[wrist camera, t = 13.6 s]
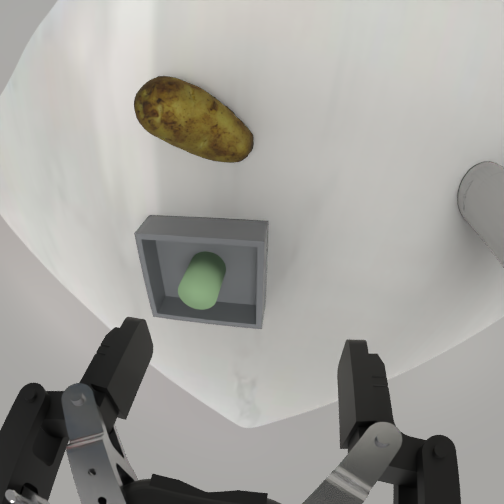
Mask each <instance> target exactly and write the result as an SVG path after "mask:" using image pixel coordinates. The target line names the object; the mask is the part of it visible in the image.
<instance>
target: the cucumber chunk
mask: <svg viewBox="0 0 504 504" xmlns="http://www.w3.org/2000/svg"><path fill="white" fill-rule="evenodd" d="M225 272H226V265H225V263H224V261H223V260H222V258H221V257H219V256H218V255H217V254H215V253H212V252H207V251H204V252H199V253H197V254H196V255H194V256H193V258H192V260H191V262H190V264H189V266H188V268H187V270H186V272H185V274H184V276H183V278H182V280H181V282H180V284H179V287H178V295H179V297H180V299H181V300H182V301H183V302H184V303H185V304H186V305H188V306H189V307H191V308H194V309H199V310H204V309H209V308H211V307H212V306H214V304H215V303H216V301H217V297H218V294H219V291H220V288H221V285H222V282H223V279H224V276H225Z"/></svg>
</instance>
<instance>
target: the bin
mask: <svg viewBox="0 0 504 504" xmlns="http://www.w3.org/2000/svg"><path fill="white" fill-rule="evenodd" d="M134 234H135V239H136V244H137V249H138V253H139V258H140V263H141V268H142V272H143V276H144V281H145V285H146V289H147V294H148V298H149V302H150V306H151V310H152V314H153V317H160V318H167V319H174V320H182V321H190V322H198V323H206V324H215V325H224V326H234V327H244V328H255V329H262V324H263V317H264V310H265V297H266V271H267V243H268V221H255V220H238V219H220V218H200V217H179V216H155V215H150V216H149V217H148V218H147V219H146V220H145V221H144V223H143V224H142V225H141V226H140V227H139V229H138V230H137V231H136V232H135V233H134ZM204 251H207V252H212V253H215V254H217V255H218V256H219V257H221V258H222V260H223V261H224V263H225V265H226V272H225V276H224V279H223V282H222V285H221V288H220V291H219V294H218V297H217V301H216V303H215V304H214V306H212V307H211V308H209V309H204V310H199V309H194V308H191V307H189V306H188V305H186V304H185V303H184V302H183V301H182V300H181V299H180V297H179V295H178V287H179V284H180V282H181V280H182V278H183V276H184V274H185V272H186V270H187V268H188V266H189V264H190V262H191V260H192V258H193V256H194V255H196V254H197V253H199V252H204Z"/></svg>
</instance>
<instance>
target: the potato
mask: <svg viewBox="0 0 504 504" xmlns="http://www.w3.org/2000/svg"><path fill="white" fill-rule="evenodd" d="M134 109H135V113H136V117H137V119H138V121H139V123H140V124H141V125H142V126H143V127H144V129H146V130H147V131H148V132H149V133H150V134H152V135H154V136H156V137H158V138H160V139H162V140H164V141H165V142H167V143H169V144H171V145H173V146H176V147H178V148H181V149H183V150H185V151H187V152H189V153H191V154H194V155H197V156H200V157H202V158H206V159H209V160H213V161H219V162H239V161H242V160H243V159H245V158H246V157H247V156H248V154H249V153H250V152H251V151H252V149H253V134H252V133H251V132H250V130H249V129H248V128H247V127H246V126H245V124H244V123H243V122H242V121H241V120H240V119H238V118H237V117H236V116H235V115H234V113H233V112H232V111H231V110H230V109H229V108H228V107H227V106H224V105H223V104H222V103H221V102H220V101H218V100H217V99H216V98H215V97H213V96H212V95H210V94H209V93H207V92H206V91H205V90H203V89H201V88H200V87H197V86H195V85H192V84H190V83H187V82H185V81H182V80H180V79H177V78H173V77H167V76H158V77H157V78H154V79H152V80H150V81H148V82H147V83H146V84H144V85H143V86H142V87H141V89H140V90H139V91H138V92H137V94H136V97H135V100H134Z"/></svg>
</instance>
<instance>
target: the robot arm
mask: <svg viewBox="0 0 504 504" xmlns="http://www.w3.org/2000/svg"><path fill="white" fill-rule="evenodd" d="M458 205H459V210H460V212H461V214H462V216H463V217H464V218H465V220H466V221H467V222H468V223H469V224H470V225H471V227H472V228H473V229H474V230H475V231H476V233H477V234H478V235H479V236H480V238H481V239H482V240H483V241H484V242H485V244H486V245H487V246H488V247H489V249H490V250H491V251H492V253H493V254H494V255H495V256H496V258H497V259H498V260H499V262H500V263H501V264H502V266H503V267H504V168H503V167H501V166H500V165H498V164H496V163H493V162H483V163H480V164H478V165H476V166H474V167H473V168H472V169H471V170H469V172H468V173H467V174H466V175H465V177H464V179H463V180H462V182H461V185H460V188H459V193H458ZM152 354H153V343H152V340H151V336H150V333H149V330H148V326H147V323H146V321H145V320H144V319H138V318H132V317H127V318H126V319H125V320H124V322H123V324H122V325H121V327H120V328H117V327H115V328H114V329H113V330H111V331H110V332H109V333H108V334H107V335H106V336H105V338H104V340H103V341H102V343H101V346H100V347H99V348H98V350H97V354H95V356H94V357H93V359H92V361H91V363H90V365H89V366H88V368H87V370H86V372H85V374H84V376H83V378H82V379H81V381H80V383H76V384H73V385H71V386H69V387H68V388H67V389H66V390H65V391H45V389H44V388H43V387H42V386H41V385H40V384H38V383H30V384H27V385H25V386H24V387H23V388H22V389H21V390H20V392H19V394H18V396H17V398H16V400H15V402H14V404H13V406H12V408H11V410H10V412H9V414H8V416H7V418H6V420H5V422H4V424H3V426H2V428H1V430H0V504H49V502H48V499H49V496H50V493H51V490H52V486H53V484H54V481H55V477H56V475H57V472H58V469H59V466H60V463H61V460H62V458H63V455H64V452H65V450H66V451H67V455H68V459H69V463H70V467H71V471H72V474H73V478H74V481H75V484H76V488H77V491H78V494H79V497H80V500H81V503H82V504H280V503H278V502H276V501H274V500H271V499H268V498H267V495H268V494H267V493H258V492H248V491H240V490H237V491H224V492H204V491H202V490H200V489H197V488H195V487H193V486H191V485H189V484H186V483H184V482H182V481H180V480H176V479H172V478H168V477H164V476H159V475H156V474H152V478H151V479H144V480H138V478H137V476H136V474H135V472H134V470H133V469H132V467H131V465H130V464H129V461H128V459H127V457H126V454H125V451H124V449H123V446H122V443H121V441H120V438H119V435H118V432H117V429H116V426H115V424H114V423H115V421H116V418H117V417H118V418H122V419H126V418H127V416H128V413H129V411H130V408H131V406H132V403H133V401H134V398H135V396H136V393H137V391H138V389H139V386H140V384H141V381H142V379H143V377H144V374H145V372H146V369H147V367H148V365H149V362H150V360H151V358H152ZM337 378H338V398H339V423H340V449H348V455H347V456H346V457H345V458H344V459H343V461H342V462H341V463H340V464H339V465H338V467H337V468H336V469H335V470H334V471H332V473H331V474H330V475H329V476H328V477H327V478H326V479H325V480H324V481H323V482H322V483H321V484H320V486H319V487H318V488H317V489H316V490H315V491H314V492H313V493H312V494H311V495H310V496H309V497H308V498H307V499H306V500H305V502H303V503H302V504H362V503H363V502H364V501H365V499H366V498H367V496H368V494H369V492H370V490H371V489H372V487H373V486H374V485H375V483H376V482H377V481H382V482H386V483H391V484H394V504H461V497H460V484H459V474H458V464H457V456H456V449H455V446H454V444H453V442H452V441H451V440H450V439H449V438H448V437H446V436H443V435H435V436H432V437H430V438H429V439H427V440H423V439H418V438H414V437H410V436H407V435H405V434H403V433H402V432H400V430H399V429H398V428H397V427H396V426H395V424H394V420H393V415H392V408H391V401H390V395H389V389H388V383H387V378H386V371H385V366H384V363H383V362H382V360H381V359H380V357H379V356H378V354H368V347H367V342H366V340H346V342H345V346H344V349H343V352H342V355H341V359H340V362H339V366H338V375H337ZM69 440H70V444H68V441H69ZM67 444H68V445H67Z"/></svg>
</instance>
